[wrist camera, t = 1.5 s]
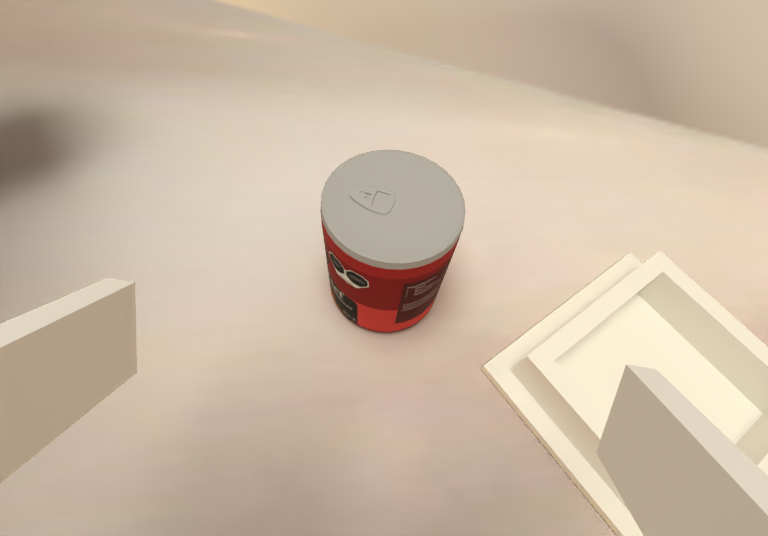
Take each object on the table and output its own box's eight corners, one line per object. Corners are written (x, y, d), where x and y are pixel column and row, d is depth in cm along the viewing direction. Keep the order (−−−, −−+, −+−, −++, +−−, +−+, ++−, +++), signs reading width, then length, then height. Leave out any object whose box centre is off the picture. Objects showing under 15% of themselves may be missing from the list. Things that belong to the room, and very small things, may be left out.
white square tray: (480, 368, 31) (497, 350, 27) (624, 257, 36) (656, 229, 32) (664, 593, 25) (717, 610, 21) (805, 424, 30) (868, 414, 26)
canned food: (334, 242, 35) (325, 144, 25) (433, 247, 35) (462, 151, 25) (326, 333, 31) (312, 260, 22) (436, 337, 32) (472, 267, 22)
